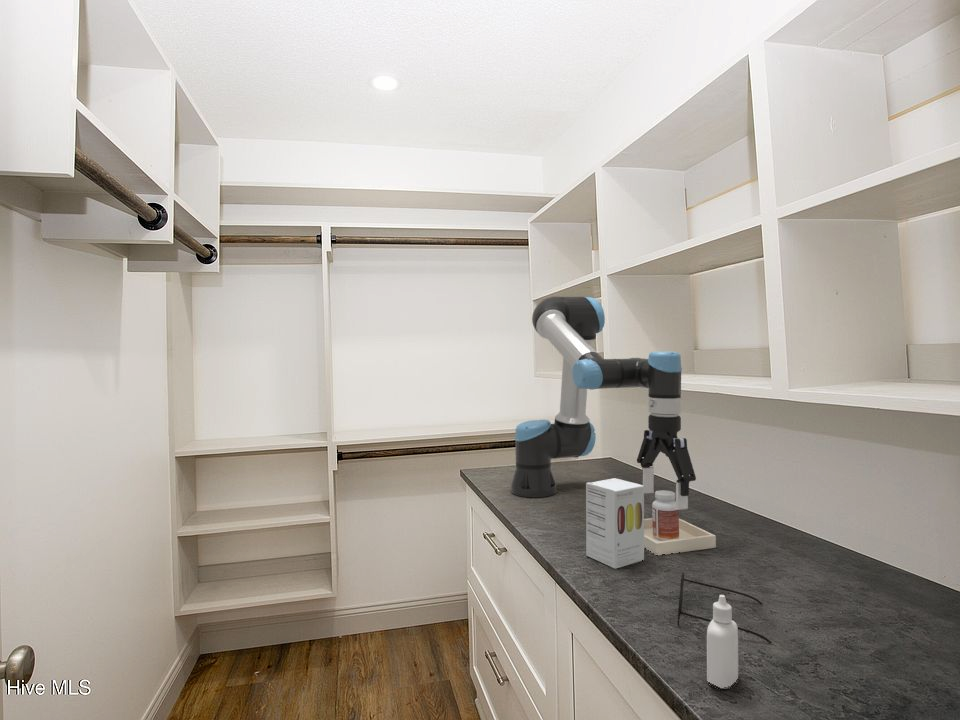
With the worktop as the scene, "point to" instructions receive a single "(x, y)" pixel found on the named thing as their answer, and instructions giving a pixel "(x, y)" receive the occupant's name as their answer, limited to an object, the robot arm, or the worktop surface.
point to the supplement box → (615, 522)
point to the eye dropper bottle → (722, 646)
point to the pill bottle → (665, 516)
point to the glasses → (709, 619)
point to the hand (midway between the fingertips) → (664, 500)
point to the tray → (687, 540)
